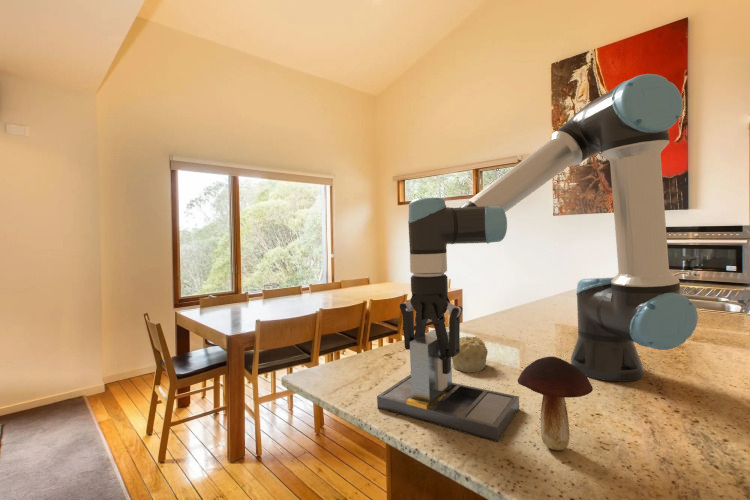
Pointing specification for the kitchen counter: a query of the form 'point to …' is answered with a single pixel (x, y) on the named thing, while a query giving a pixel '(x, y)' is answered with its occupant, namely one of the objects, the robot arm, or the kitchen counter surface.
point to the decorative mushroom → (555, 395)
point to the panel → (426, 368)
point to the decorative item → (470, 355)
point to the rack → (455, 408)
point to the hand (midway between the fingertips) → (432, 385)
